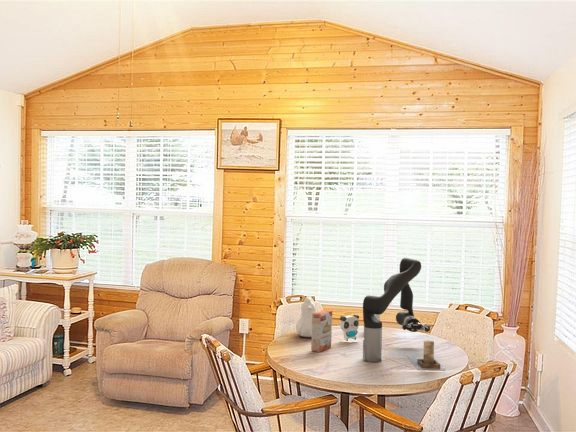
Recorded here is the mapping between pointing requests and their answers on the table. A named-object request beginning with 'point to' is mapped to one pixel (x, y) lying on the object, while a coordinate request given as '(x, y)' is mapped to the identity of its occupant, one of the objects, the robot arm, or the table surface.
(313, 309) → the decorative rooster
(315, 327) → the cracker box
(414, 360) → the board
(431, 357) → the maple pillar
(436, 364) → the socket collar
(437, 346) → the table surface
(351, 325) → the panda figurine
